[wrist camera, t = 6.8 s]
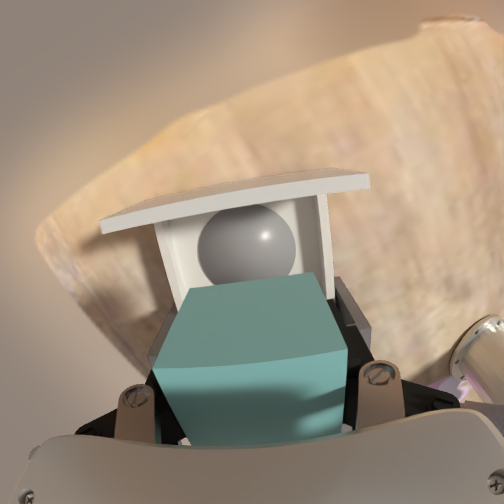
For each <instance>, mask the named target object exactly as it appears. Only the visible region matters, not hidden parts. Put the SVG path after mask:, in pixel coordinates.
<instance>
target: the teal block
mask: <svg viewBox="0 0 504 504" xmlns="http://www.w3.org/2000/svg"><path fill="white" fill-rule="evenodd" d="M347 356H348V348H347V346H346V343H345V341H344V339H343V337H342V334H341V332H340V330H339V327H338V325H337V323H336V321H335V319H334V316H333V314H332V312H331V310H330V307H329V305H328V303H327V301H326V299H325V296H324V294H323V292H322V290H321V288H320V286H319V284H318V281H317V279H316V277H315V275H314V273H313V272H308V273H301V274H294V275H288V276H280V277H273V278H266V279H259V280H251V281H244V282H236V283H228V284H220V285H212V286H204V287H196V288H189V291H188V293H187V295H186V297H185V299H184V301H183V303H182V305H181V307H180V309H179V311H178V313H177V315H176V318H175V320H174V322H173V324H172V326H171V328H170V330H169V332H168V335H167V337H166V339H165V341H164V343H163V345H162V348H161V350H160V352H159V354H158V356H157V359H156V361H155V363H154V365H153V367H152V370H153V372H154V374H155V376H156V378H157V381H158V383H159V385H160V387H161V389H162V391H163V393H164V395H165V397H166V399H167V401H168V403H169V405H170V407H171V409H172V411H173V413H174V415H175V417H176V418H177V420H178V422H179V424H180V426H181V428H182V429H183V431H184V433H185V435H186V437H187V438H188V440H189V442H190V443H191V445H192V446H241V445H258V444H271V443H281V442H290V441H298V440H305V439H312V438H318V437H324V436H329V435H335V434H340V433H341V429H342V420H343V410H344V400H345V388H346V374H347Z"/></svg>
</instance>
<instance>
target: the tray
mask: <svg viewBox="0 0 504 504" xmlns="http://www.w3.org/2000/svg"><path fill="white" fill-rule="evenodd" d="M361 189H370V180H369V173H365V172H358V171H352V170H345V169H338V168H326V169H318V170H310V171H302V172H295V173H287V174H280V175H274V176H267V177H261V178H255V179H249V180H243V181H237V182H231V183H226V184H220V185H215V186H210V187H205V188H200V189H195V190H190V191H185V192H180V193H176V194H171V195H167V196H162V197H158V198H154V199H149V200H145V201H143V202H140V203H138V204H136V205H133V206H131V207H129V208H126V209H124V210H122V211H119V212H117V213H115V214H113V215H110V216H108V217H106V218H104V219H102V220H99V223H100V227H101V230H102V234H106V233H110V232H114V231H119V230H123V229H128V228H132V227H137V226H142V225H146V224H151V223H153V224H154V228H155V232H156V236H157V240H158V244H159V248H160V252H161V256H162V259H163V263H164V267H165V270H166V274H167V277H168V281H169V284H170V287H171V291H172V294H173V297H174V301H175V304H176V307H177V310H178V311H179V309H180V307H181V305H182V303H183V301H184V299H185V297H186V295H187V293H188V291H189V288H196V287H204V286H212V285H220V284H228V283H236V282H244V281H251V280H259V279H266V278H273V277H280V276H288V275H294V274H301V273H308V272H313V273H314V275H315V277H316V279H317V281H318V284H319V286H320V288H321V290H322V292H323V294H324V296H325V299H326V300H327V299H333V300H334V302H335V289H334V272H333V258H332V245H331V234H330V223H329V214H328V205H327V196H326V194H328V193H336V192H344V191H352V190H361Z"/></svg>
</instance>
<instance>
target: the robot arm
mask: <svg viewBox="0 0 504 504" xmlns="http://www.w3.org/2000/svg"><path fill="white" fill-rule="evenodd" d="M326 301H327V303H328V305H329V307H330V310H331V312H332V314H333V316H334V319H335V321H336V323H337V325H338V327H339V330H340V332H341V334H342V337H343V339H344V341H345V343H346V346H347V348H348V356H347V374H346V388H345V400H344V410H343V420H342V424H346V425H349V426H351V427H352V430H351V431H349V432H344V433H340V434H335V435H329V436H324V437H318V438H312V439H305V440H298V441H290V442H281V443H271V444H258V445H241V446H186V445H182V443H181V439H183V438H185V437H186V435H185V433H184V431H183V429H182V428H181V426H180V424H179V422H178V420H177V418H176V417H175V415H174V413H173V411H172V409H171V407H170V405H169V403H168V401H167V399H166V397H165V395H164V393H163V391H162V389H161V387H160V385H159V383H158V381H157V378H156V376H155V374H154V372H153V370H152V369H151V371H150V374H149V376H148V378H147V381H146V383H145V385H144V384H137V385H133V386H130V387H129V388H127V389H126V390H124V391H123V392H122V393H121V395H120V397H119V401H118V408H117V409H115V410H113V411H111V412H109V413H108V414H105V415H103V416H101V417H99V418H97V419H95V420H93V421H91V422H89V423H87V424H85V425H83V426H82V427H80V428H79V429H78V430H77V431H76V432H75V434H74V435H64V436H57V437H53V438H50V439H48V440H46V441H45V442H44V443H42V444H41V445H40V446H37V447H36V448H34V449H33V450H32V451H31V452H30V454H29V462H28V463H27V465H26V467H25V469H24V471H23V472H22V474H21V476H20V478H19V480H18V482H17V484H16V486H15V488H14V490H13V493H12V495H11V497H10V499H9V502H8V504H504V320H503V319H502V318H500V317H499V316H497V315H490V316H488V317H485V318H483V319H482V320H480V321H479V322H478V323H476V324H475V325H474V326H473V327H472V328H471V329H470V330H469V331H468V332H467V333H466V334H465V336H464V337H463V338H462V340H461V341H460V342H459V344H458V346H457V347H456V349H455V351H454V353H453V355H452V358H451V361H450V373H451V375H452V376H453V377H454V379H456V380H458V381H464V380H467V381H468V382H469V383H470V385H471V386H472V387H473V389H474V390H475V391H476V393H477V394H478V396H479V397H480V398H481V400H482V401H483V403H481V402H473V401H466V400H465V402H464V403H459V401H458V399H457V398H456V397H455V396H454V395H452V394H450V393H447V392H444V391H440V390H436V389H433V388H429V387H426V386H422V385H419V384H415V383H412V382H409V381H405V380H402V379H401V376H400V371H399V369H398V367H397V366H396V365H395V364H393V363H391V362H388V361H385V360H376V361H375V360H374V358H373V356H372V354H371V352H370V350H369V348H368V346H367V344H366V343H365V341H364V339H363V337H362V335H361V333H360V331H359V329H358V328H357V326H356V325H351V326H346V324H345V322H344V320H343V318H342V316H341V314H340V312H339V310H338V308H337V306H336V304H335V302H334V300H333V299H327V300H326ZM156 359H157V358H156ZM155 361H156V360H155Z"/></svg>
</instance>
